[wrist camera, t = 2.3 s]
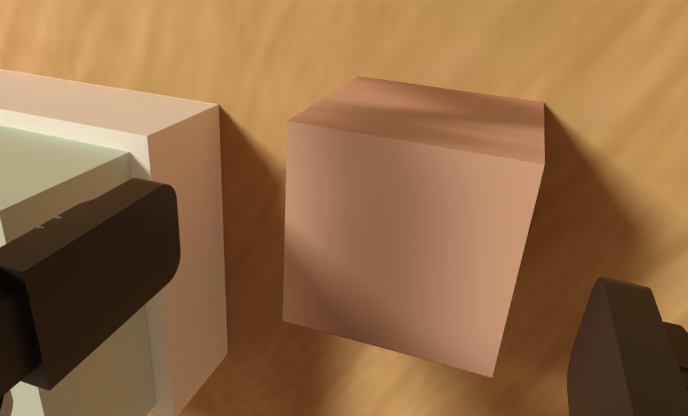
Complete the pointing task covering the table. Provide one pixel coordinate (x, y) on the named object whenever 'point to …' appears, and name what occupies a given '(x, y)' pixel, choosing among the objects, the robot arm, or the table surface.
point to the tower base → (192, 200)
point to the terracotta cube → (410, 217)
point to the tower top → (30, 212)
